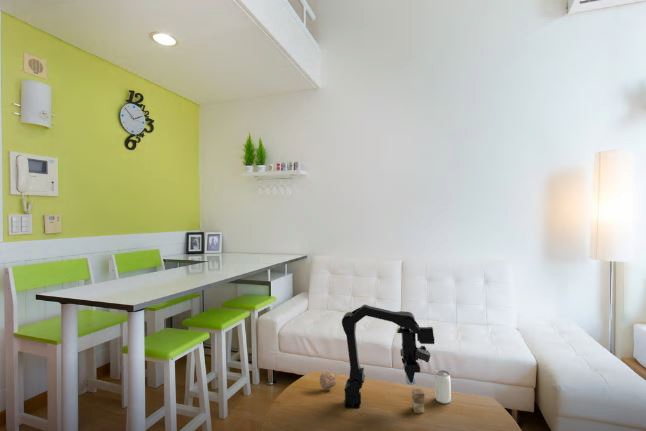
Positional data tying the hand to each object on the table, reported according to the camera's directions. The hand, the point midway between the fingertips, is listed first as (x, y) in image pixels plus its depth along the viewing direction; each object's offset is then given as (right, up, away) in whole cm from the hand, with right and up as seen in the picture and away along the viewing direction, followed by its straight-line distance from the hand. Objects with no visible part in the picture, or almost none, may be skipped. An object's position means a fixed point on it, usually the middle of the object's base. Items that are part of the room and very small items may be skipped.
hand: (410, 379), depth 144 cm
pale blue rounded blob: (0, -1, 0) cm, 1 cm away
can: (+16, -13, +7) cm, 22 cm away
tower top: (+3, -9, 0) cm, 9 cm away
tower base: (+3, -13, 0) cm, 13 cm away
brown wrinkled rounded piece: (-35, -14, +18) cm, 41 cm away
